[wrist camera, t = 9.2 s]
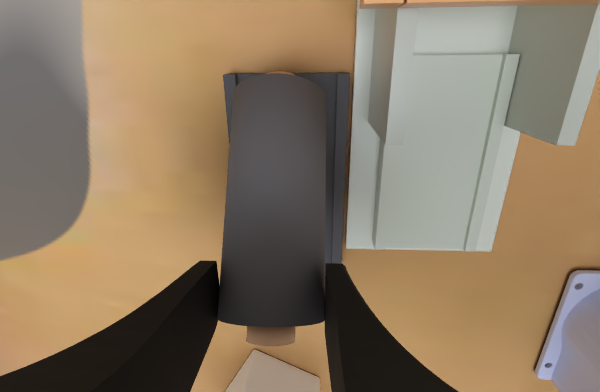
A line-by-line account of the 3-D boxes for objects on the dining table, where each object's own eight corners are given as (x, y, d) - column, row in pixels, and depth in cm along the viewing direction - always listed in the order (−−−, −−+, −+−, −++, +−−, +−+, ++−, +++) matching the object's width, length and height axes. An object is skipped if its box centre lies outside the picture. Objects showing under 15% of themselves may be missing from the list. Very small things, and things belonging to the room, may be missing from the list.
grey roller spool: (319, 331, 14) (330, 355, 10) (226, 329, 14) (203, 352, 10) (321, 106, 17) (331, 56, 13) (241, 103, 16) (226, 52, 13)
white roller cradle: (486, 246, 21) (541, 308, 16) (345, 243, 22) (353, 303, 16) (547, -8, 16) (661, -40, 11) (357, -4, 16) (375, -33, 11)
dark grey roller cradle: (339, 263, 22) (340, 273, 21) (245, 261, 23) (241, 271, 22) (347, 72, 18) (349, 73, 17) (228, 73, 18) (223, 74, 17)
